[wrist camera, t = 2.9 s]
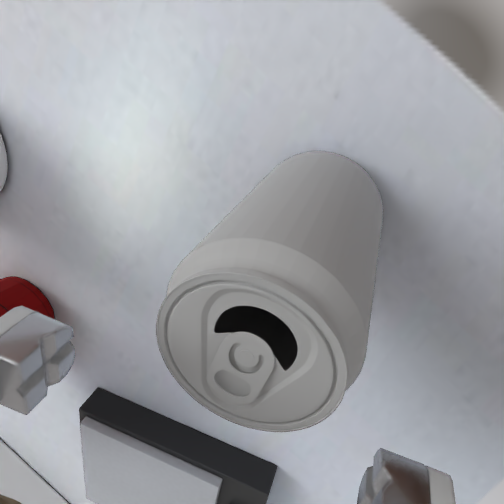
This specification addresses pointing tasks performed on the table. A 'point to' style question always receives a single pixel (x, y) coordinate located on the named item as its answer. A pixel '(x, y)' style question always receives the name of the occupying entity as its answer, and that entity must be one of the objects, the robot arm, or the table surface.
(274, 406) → the beverage can
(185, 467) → the kitchen scale
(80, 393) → the table surface
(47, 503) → the gable box
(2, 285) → the plastic cup
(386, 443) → the table surface
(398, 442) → the table surface
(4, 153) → the fruit juice
